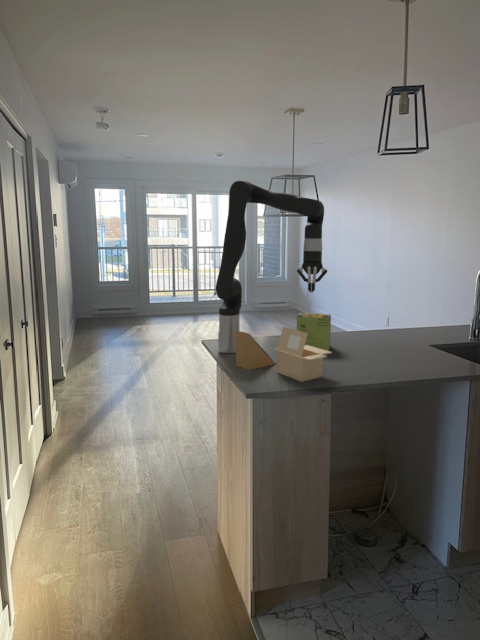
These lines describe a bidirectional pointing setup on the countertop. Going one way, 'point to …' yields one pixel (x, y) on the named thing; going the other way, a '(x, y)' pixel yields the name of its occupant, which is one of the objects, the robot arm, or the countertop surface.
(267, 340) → the countertop surface
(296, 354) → the flap
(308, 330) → the protein box
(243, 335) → the sandwich container
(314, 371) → the carton
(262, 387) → the countertop surface
